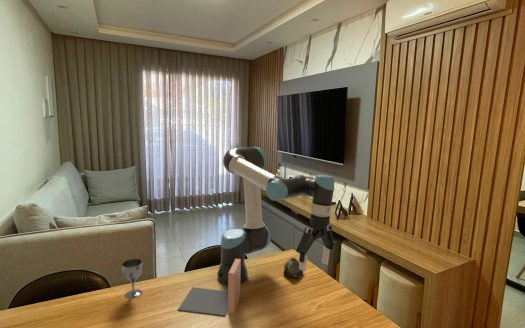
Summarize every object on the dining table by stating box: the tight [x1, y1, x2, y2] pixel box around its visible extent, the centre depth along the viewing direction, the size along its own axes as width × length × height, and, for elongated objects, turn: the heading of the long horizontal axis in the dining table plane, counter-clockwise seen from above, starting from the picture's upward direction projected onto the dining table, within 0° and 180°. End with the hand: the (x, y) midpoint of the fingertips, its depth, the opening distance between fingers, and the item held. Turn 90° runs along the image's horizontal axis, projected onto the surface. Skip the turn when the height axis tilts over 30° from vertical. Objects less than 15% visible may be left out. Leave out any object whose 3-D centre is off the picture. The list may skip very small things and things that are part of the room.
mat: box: [177, 286, 228, 317], centre depth 128 cm, size 16×20×1 cm
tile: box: [227, 259, 241, 315], centre depth 125 cm, size 12×3×18 cm, turn 172°
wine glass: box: [121, 258, 143, 300], centre depth 130 cm, size 8×8×15 cm
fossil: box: [283, 257, 304, 279], centre depth 151 cm, size 11×9×10 cm
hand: (313, 266), depth 117 cm, fingers open, 13 cm apart
